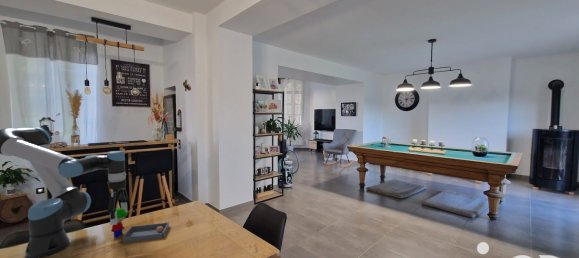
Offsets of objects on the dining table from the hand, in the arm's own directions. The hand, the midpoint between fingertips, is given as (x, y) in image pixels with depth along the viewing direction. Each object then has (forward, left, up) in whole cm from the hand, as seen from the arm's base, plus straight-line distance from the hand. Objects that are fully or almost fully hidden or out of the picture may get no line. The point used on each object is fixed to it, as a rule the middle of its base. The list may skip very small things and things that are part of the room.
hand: (119, 219), depth 130 cm
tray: (+14, -3, -9) cm, 17 cm away
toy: (0, 0, -10) cm, 10 cm away
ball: (+20, -3, -9) cm, 22 cm away
